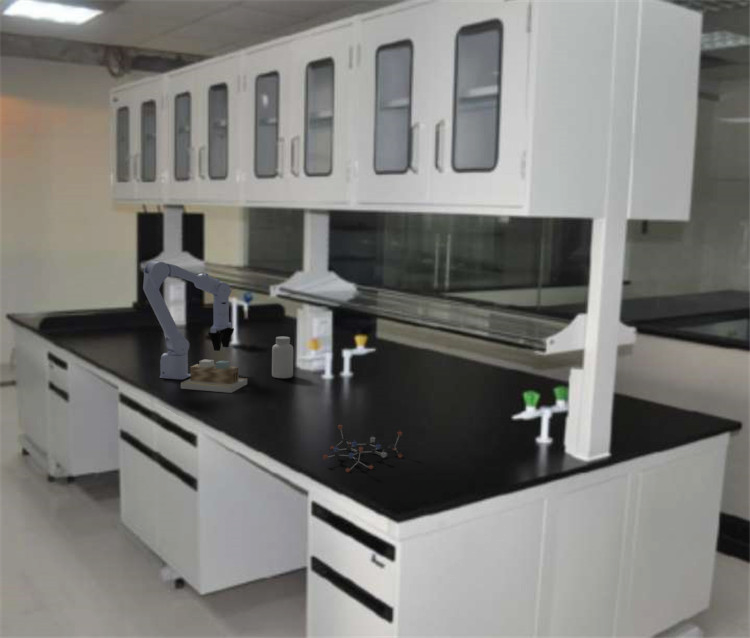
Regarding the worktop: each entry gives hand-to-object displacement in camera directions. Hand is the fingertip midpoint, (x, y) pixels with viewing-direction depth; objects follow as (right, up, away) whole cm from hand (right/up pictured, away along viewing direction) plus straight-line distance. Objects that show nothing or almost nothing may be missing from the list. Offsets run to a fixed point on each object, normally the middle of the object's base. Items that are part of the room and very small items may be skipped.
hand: (221, 348), depth 306 cm
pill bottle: (+24, -11, -2) cm, 26 cm away
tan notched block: (+2, -11, -21) cm, 23 cm away
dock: (+1, -13, -20) cm, 24 cm away
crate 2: (+5, -6, -22) cm, 23 cm away
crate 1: (-1, -5, -21) cm, 21 cm away
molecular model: (+54, -25, -95) cm, 112 cm away
